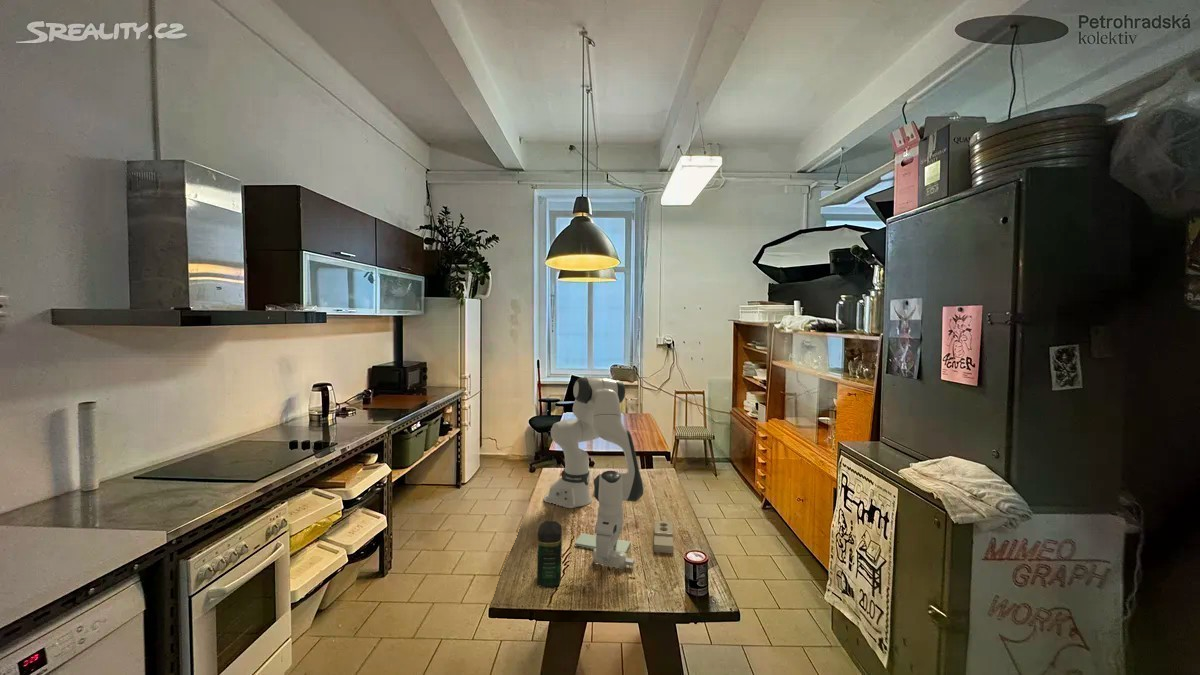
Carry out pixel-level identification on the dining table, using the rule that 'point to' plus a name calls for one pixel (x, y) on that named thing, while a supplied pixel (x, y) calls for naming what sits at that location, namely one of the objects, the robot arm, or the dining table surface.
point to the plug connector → (614, 559)
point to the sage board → (590, 542)
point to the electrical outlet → (663, 537)
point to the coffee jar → (549, 554)
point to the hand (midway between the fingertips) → (609, 557)
